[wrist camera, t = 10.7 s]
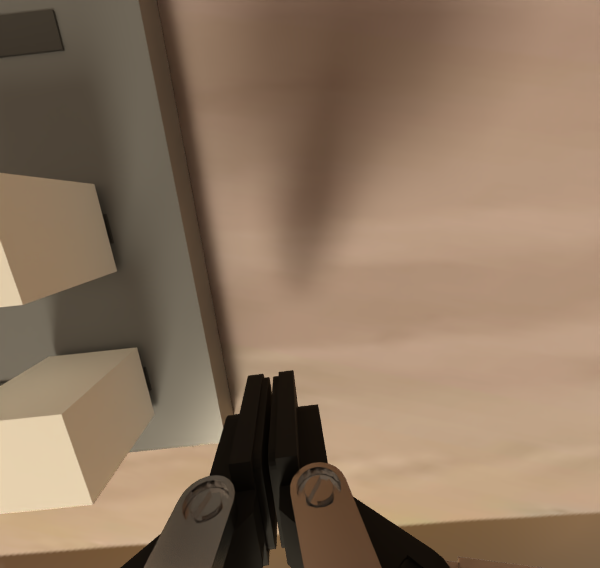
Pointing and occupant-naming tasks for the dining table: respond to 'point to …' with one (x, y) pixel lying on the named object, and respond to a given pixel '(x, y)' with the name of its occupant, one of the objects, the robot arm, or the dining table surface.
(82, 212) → the tab
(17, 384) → the cream cube
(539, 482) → the dining table surface
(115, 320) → the switch panel
